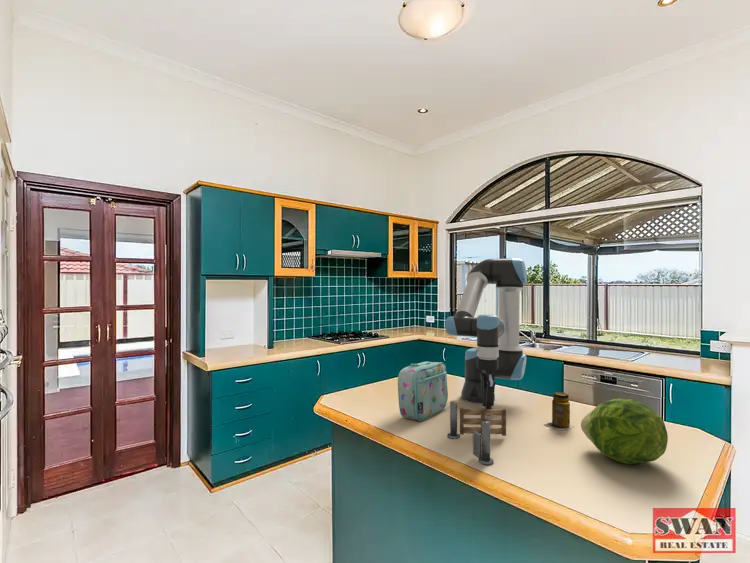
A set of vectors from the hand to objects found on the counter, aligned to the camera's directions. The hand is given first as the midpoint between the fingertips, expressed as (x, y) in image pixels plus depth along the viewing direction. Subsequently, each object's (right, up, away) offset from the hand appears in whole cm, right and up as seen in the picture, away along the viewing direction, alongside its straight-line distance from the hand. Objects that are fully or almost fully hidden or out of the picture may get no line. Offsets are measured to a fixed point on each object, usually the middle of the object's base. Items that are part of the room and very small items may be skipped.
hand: (487, 423), depth 142 cm
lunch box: (-20, -3, +19) cm, 28 cm away
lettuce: (+34, -3, -22) cm, 40 cm away
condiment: (+29, -3, +6) cm, 29 cm away
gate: (-3, -2, -5) cm, 6 cm away
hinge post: (-13, -3, -5) cm, 14 cm away
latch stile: (-7, -3, -24) cm, 25 cm away
